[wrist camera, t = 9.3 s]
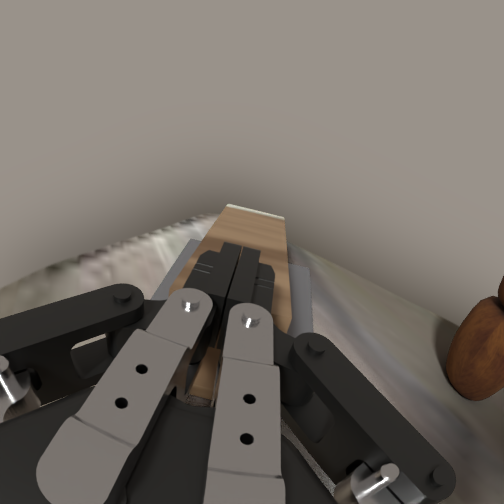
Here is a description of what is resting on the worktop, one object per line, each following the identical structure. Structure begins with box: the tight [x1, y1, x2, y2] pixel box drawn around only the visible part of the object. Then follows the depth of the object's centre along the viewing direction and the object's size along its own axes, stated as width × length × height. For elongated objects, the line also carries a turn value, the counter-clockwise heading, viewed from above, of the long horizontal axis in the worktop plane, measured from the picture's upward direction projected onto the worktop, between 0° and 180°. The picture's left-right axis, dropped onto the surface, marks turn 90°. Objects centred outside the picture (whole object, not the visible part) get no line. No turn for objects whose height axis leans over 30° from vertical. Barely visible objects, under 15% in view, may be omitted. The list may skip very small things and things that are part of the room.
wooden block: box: [168, 204, 292, 389], centre depth 21 cm, size 5×5×16 cm
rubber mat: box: [151, 239, 313, 338], centre depth 24 cm, size 15×12×1 cm
